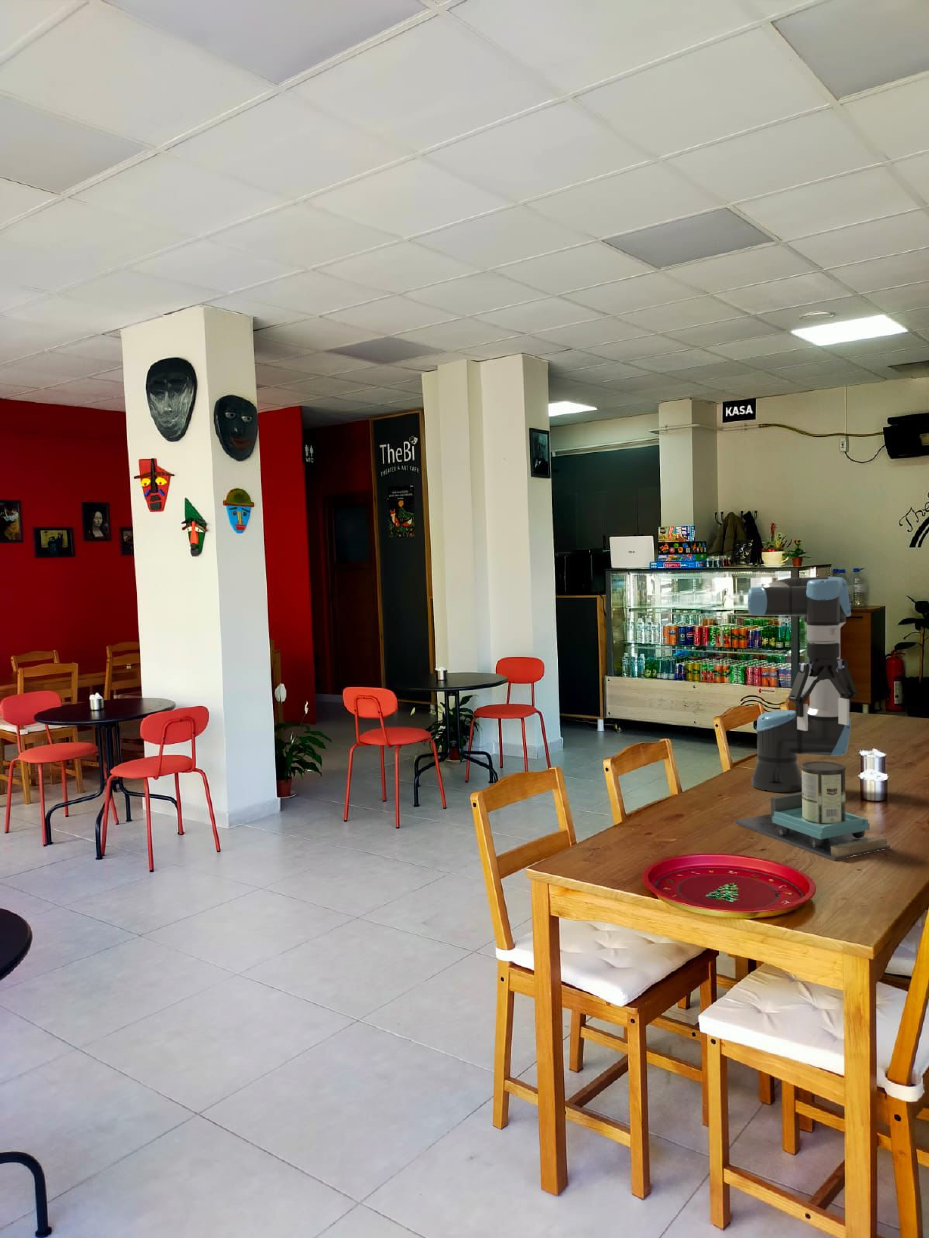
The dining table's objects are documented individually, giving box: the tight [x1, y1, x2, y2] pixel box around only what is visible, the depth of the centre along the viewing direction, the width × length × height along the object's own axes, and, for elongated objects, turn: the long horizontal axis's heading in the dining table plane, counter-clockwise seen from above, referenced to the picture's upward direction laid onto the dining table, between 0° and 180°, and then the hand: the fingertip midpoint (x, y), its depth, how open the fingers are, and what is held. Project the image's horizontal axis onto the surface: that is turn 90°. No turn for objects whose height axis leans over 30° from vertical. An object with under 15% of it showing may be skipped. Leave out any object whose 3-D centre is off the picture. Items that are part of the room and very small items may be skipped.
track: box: [734, 813, 891, 861], centre depth 227 cm, size 34×18×3 cm, turn 24°
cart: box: [770, 791, 871, 847], centre depth 223 cm, size 18×16×8 cm
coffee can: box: [800, 760, 847, 826], centre depth 221 cm, size 10×10×14 cm
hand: (823, 727), depth 221 cm, fingers open, 13 cm apart
